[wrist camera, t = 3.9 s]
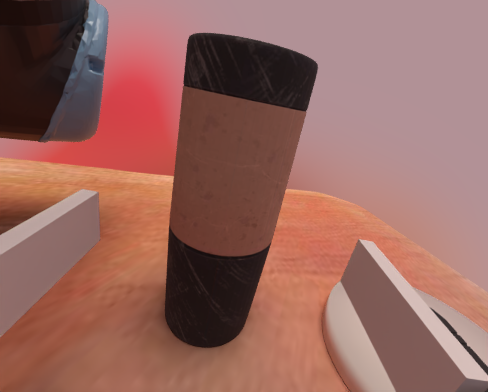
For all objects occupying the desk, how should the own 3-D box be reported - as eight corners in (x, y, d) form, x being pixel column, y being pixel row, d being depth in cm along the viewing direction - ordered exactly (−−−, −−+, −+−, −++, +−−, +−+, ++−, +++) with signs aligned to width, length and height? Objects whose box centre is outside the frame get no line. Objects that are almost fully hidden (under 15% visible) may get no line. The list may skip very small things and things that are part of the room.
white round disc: (286, 319, 22) (291, 303, 21) (373, 274, 31) (379, 261, 31) (537, 608, 10) (570, 595, 10) (557, 401, 20) (575, 385, 19)
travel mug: (227, 371, 17) (313, 45, 9) (140, 322, 19) (154, 23, 12) (260, 298, 24) (325, 75, 16) (193, 268, 26) (223, 57, 18)
